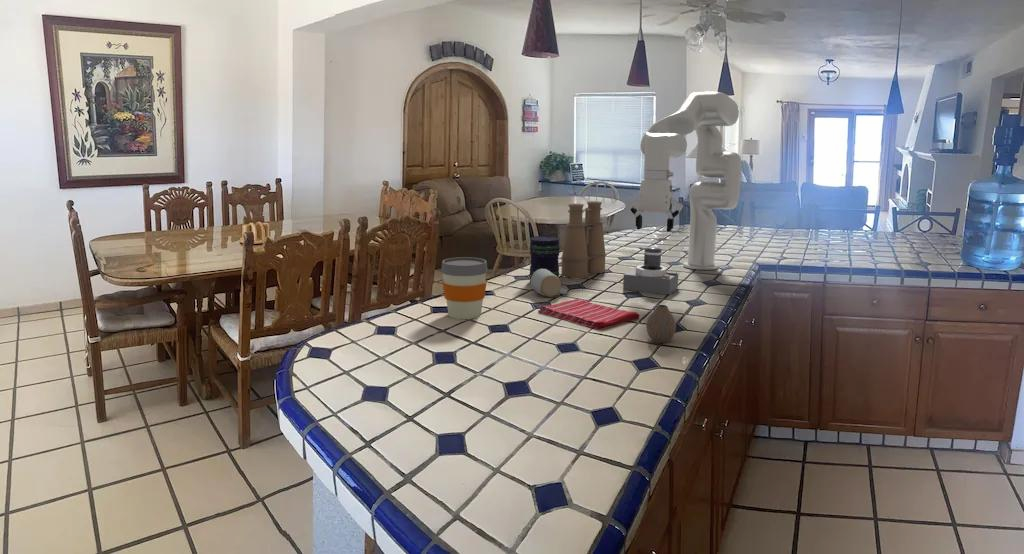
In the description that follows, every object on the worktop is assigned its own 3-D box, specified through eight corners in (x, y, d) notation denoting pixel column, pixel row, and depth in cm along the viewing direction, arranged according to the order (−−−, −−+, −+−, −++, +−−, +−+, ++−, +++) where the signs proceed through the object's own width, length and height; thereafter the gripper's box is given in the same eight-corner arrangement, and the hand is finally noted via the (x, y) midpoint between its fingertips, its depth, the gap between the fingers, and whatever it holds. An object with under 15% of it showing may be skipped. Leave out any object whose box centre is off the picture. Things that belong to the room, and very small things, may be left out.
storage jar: (549, 287, 220) (550, 241, 216) (523, 283, 225) (524, 238, 221) (564, 281, 228) (565, 237, 225) (538, 278, 233) (539, 235, 230)
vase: (652, 334, 169) (654, 300, 167) (679, 339, 165) (681, 305, 163) (641, 341, 164) (642, 306, 162) (668, 346, 160) (670, 311, 158)
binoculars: (577, 280, 230) (579, 206, 225) (554, 275, 237) (555, 204, 231) (611, 271, 245) (614, 202, 240) (589, 267, 251) (591, 199, 246)
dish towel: (600, 332, 173) (600, 322, 172) (536, 313, 190) (536, 304, 189) (642, 320, 184) (642, 311, 183) (578, 303, 201) (578, 295, 200)
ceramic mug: (540, 299, 204) (541, 274, 202) (529, 293, 211) (530, 269, 210) (572, 296, 208) (573, 272, 206) (560, 290, 215) (561, 267, 214)
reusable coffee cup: (492, 319, 182) (492, 264, 179) (446, 322, 179) (446, 266, 176) (481, 307, 194) (481, 256, 191) (438, 310, 191) (437, 258, 187)
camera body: (632, 283, 225) (633, 262, 224) (677, 288, 218) (678, 267, 217) (623, 289, 217) (623, 268, 215) (669, 294, 210) (670, 272, 208)
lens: (645, 271, 220) (647, 246, 218) (662, 273, 218) (663, 247, 216) (640, 274, 215) (642, 248, 214) (657, 276, 213) (659, 250, 211)
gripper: (687, 175, 209) (684, 230, 213) (633, 173, 217) (631, 226, 221) (680, 177, 203) (678, 233, 207) (625, 175, 211) (624, 229, 215)
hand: (654, 229), depth 214 cm, fingers open, 9 cm apart
